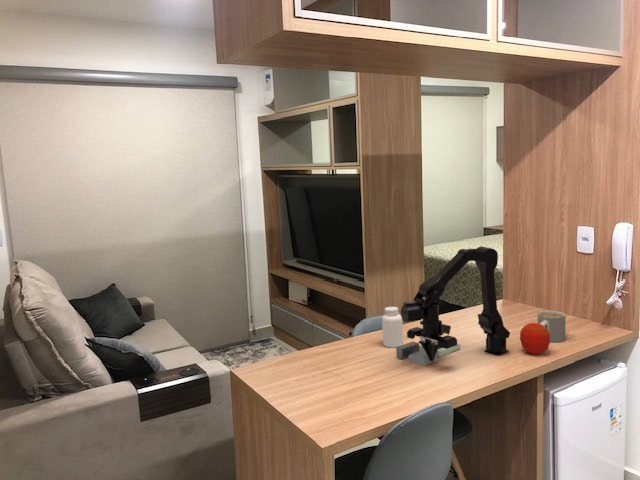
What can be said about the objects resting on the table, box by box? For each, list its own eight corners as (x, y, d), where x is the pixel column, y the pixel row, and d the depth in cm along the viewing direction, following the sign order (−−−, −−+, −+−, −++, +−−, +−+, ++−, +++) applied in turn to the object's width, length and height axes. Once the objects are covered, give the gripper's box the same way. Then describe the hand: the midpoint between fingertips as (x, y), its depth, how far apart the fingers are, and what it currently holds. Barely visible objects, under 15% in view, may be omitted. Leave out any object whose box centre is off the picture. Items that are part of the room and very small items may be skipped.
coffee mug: (548, 333, 214) (548, 309, 213) (570, 339, 206) (571, 314, 204) (526, 339, 208) (526, 315, 207) (547, 346, 199) (548, 320, 198)
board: (436, 361, 192) (436, 354, 192) (423, 366, 188) (423, 359, 187) (421, 356, 197) (421, 350, 197) (408, 361, 193) (408, 355, 193)
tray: (460, 349, 202) (460, 343, 201) (439, 357, 195) (439, 351, 194) (436, 342, 211) (435, 336, 211) (415, 349, 204) (415, 344, 204)
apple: (554, 351, 194) (554, 321, 192) (542, 359, 187) (542, 327, 186) (527, 345, 201) (527, 316, 200) (515, 353, 195) (514, 322, 193)
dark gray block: (419, 353, 200) (419, 343, 199) (402, 359, 195) (402, 349, 194) (413, 351, 202) (413, 341, 202) (396, 357, 197) (396, 347, 196)
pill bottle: (380, 346, 209) (378, 310, 207) (387, 340, 216) (385, 304, 214) (399, 349, 206) (397, 311, 204) (405, 342, 213) (404, 306, 211)
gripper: (466, 318, 184) (467, 361, 186) (426, 309, 199) (427, 349, 201) (445, 325, 178) (447, 369, 180) (405, 315, 193) (406, 356, 195)
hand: (432, 360), depth 189 cm, fingers closed
